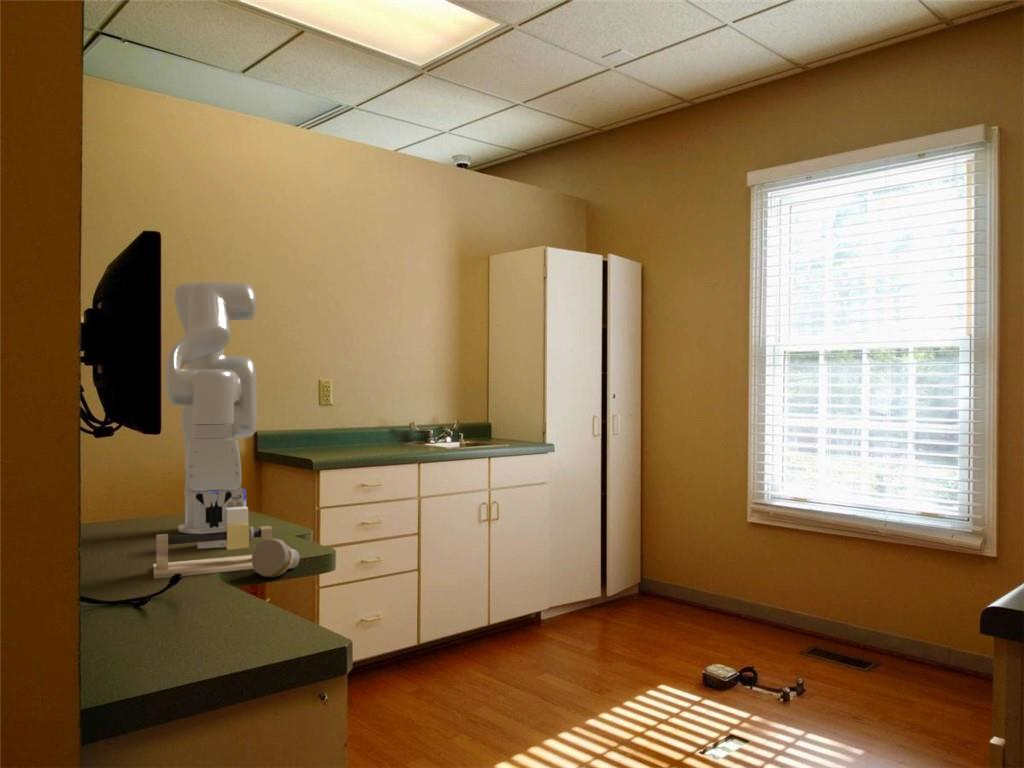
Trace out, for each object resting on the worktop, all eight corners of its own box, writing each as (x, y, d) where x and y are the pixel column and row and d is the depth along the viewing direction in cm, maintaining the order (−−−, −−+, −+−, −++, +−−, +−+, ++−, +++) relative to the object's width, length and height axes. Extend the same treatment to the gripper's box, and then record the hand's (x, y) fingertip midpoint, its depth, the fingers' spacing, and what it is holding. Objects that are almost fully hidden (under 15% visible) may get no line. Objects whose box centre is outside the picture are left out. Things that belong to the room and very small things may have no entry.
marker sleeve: (225, 545, 153) (225, 507, 153) (246, 543, 155) (246, 505, 155) (227, 549, 149) (227, 510, 149) (249, 547, 151) (248, 509, 151)
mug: (310, 567, 151) (307, 529, 146) (279, 601, 143) (274, 561, 138) (279, 555, 153) (274, 517, 148) (246, 588, 146) (241, 548, 140)
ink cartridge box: (247, 542, 174) (246, 478, 174) (245, 547, 168) (245, 481, 168) (200, 544, 171) (200, 479, 171) (197, 549, 166) (196, 482, 166)
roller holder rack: (153, 568, 150) (153, 530, 150) (270, 556, 159) (270, 521, 159) (153, 579, 142) (153, 539, 142) (277, 566, 151) (276, 528, 151)
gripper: (251, 430, 157) (251, 520, 157) (171, 432, 150) (171, 526, 151) (255, 433, 150) (255, 526, 150) (172, 435, 144) (172, 533, 144)
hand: (213, 526), depth 150 cm, fingers closed
